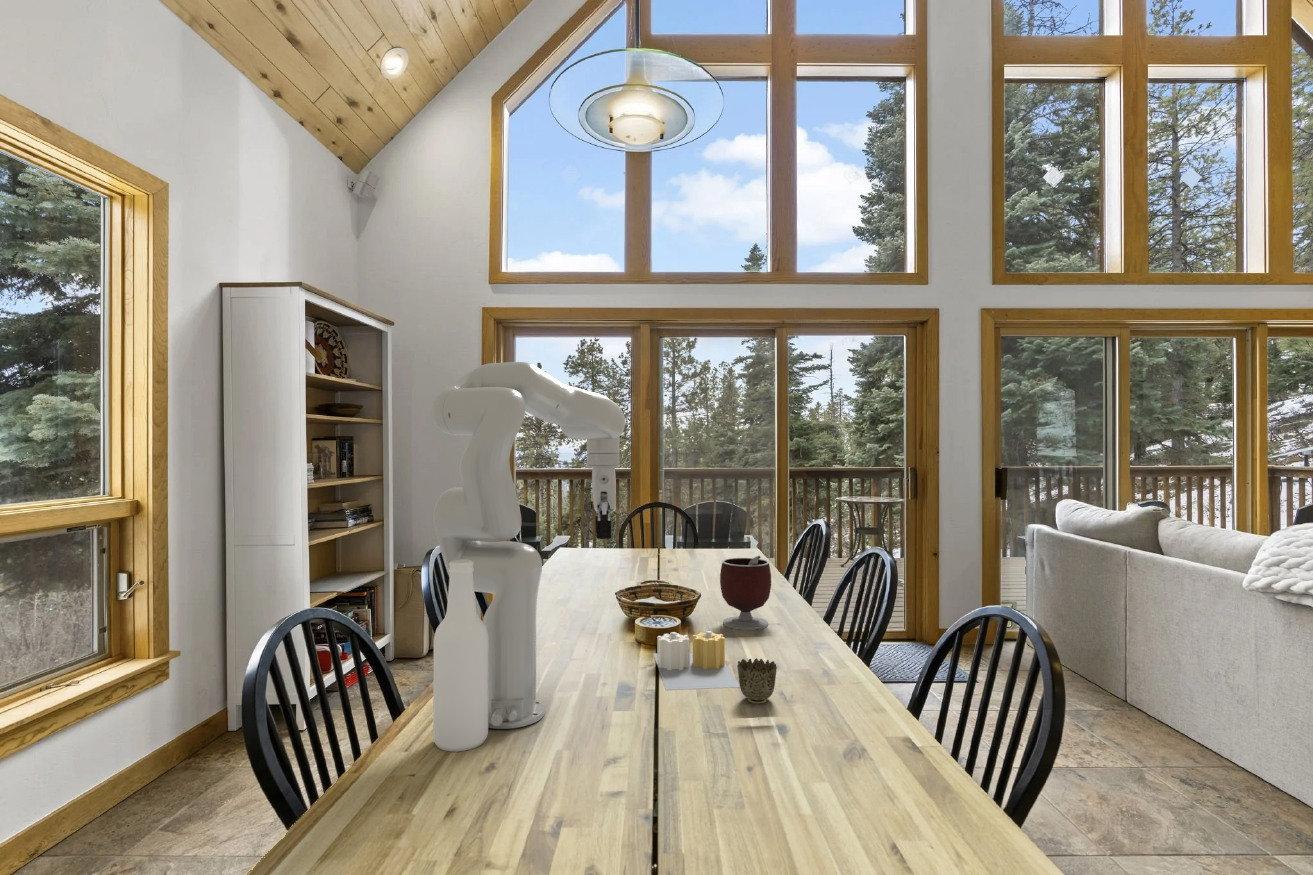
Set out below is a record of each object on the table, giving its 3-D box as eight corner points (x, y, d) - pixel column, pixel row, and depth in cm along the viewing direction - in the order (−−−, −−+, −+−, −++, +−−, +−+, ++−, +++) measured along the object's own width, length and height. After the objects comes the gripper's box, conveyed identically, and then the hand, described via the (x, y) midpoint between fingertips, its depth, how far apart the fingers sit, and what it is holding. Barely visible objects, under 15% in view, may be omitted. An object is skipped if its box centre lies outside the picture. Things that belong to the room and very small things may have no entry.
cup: (776, 715, 129) (776, 671, 129) (735, 711, 130) (735, 668, 130) (777, 700, 136) (777, 658, 136) (739, 697, 137) (739, 656, 137)
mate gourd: (712, 619, 197) (712, 548, 197) (757, 616, 201) (757, 546, 202) (734, 634, 182) (734, 557, 183) (783, 630, 187) (783, 554, 187)
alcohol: (431, 734, 120) (432, 558, 120) (484, 727, 123) (485, 555, 123) (434, 756, 112) (435, 567, 112) (491, 747, 115) (491, 563, 115)
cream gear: (691, 669, 150) (691, 641, 150) (659, 670, 150) (659, 642, 150) (686, 659, 157) (686, 632, 157) (656, 660, 156) (656, 633, 157)
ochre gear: (727, 668, 151) (727, 640, 151) (695, 669, 151) (695, 641, 151) (720, 658, 158) (720, 631, 158) (690, 659, 157) (690, 632, 157)
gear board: (740, 693, 140) (740, 651, 140) (665, 696, 138) (665, 654, 138) (717, 656, 164) (717, 621, 164) (653, 658, 162) (653, 622, 162)
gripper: (621, 462, 154) (621, 540, 154) (617, 460, 171) (617, 530, 171) (587, 462, 153) (587, 541, 153) (586, 460, 170) (586, 531, 170)
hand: (603, 535), depth 162 cm, fingers open, 9 cm apart
